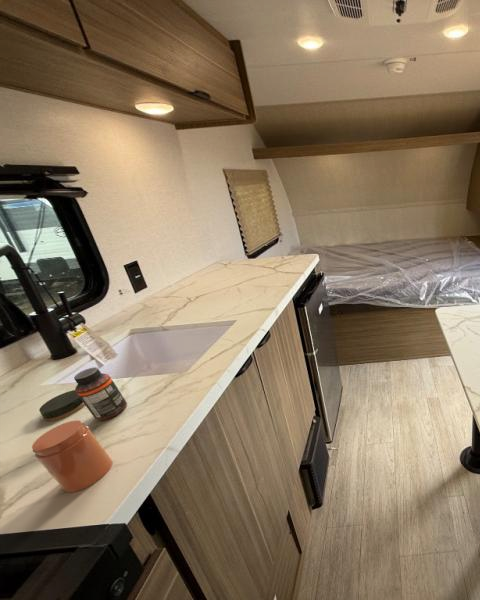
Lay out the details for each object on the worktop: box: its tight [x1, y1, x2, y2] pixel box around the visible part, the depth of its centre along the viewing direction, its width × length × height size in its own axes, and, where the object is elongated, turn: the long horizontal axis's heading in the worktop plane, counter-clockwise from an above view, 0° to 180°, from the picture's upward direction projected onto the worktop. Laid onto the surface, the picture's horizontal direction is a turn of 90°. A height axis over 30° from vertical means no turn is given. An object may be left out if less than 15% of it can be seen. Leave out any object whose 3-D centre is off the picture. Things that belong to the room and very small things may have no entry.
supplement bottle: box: [73, 366, 128, 421], centre depth 71 cm, size 6×6×11 cm
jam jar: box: [31, 419, 113, 493], centre depth 55 cm, size 7×7×10 cm
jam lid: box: [38, 389, 83, 419], centre depth 76 cm, size 8×8×2 cm
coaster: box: [42, 402, 86, 422], centre depth 76 cm, size 8×8×1 cm
